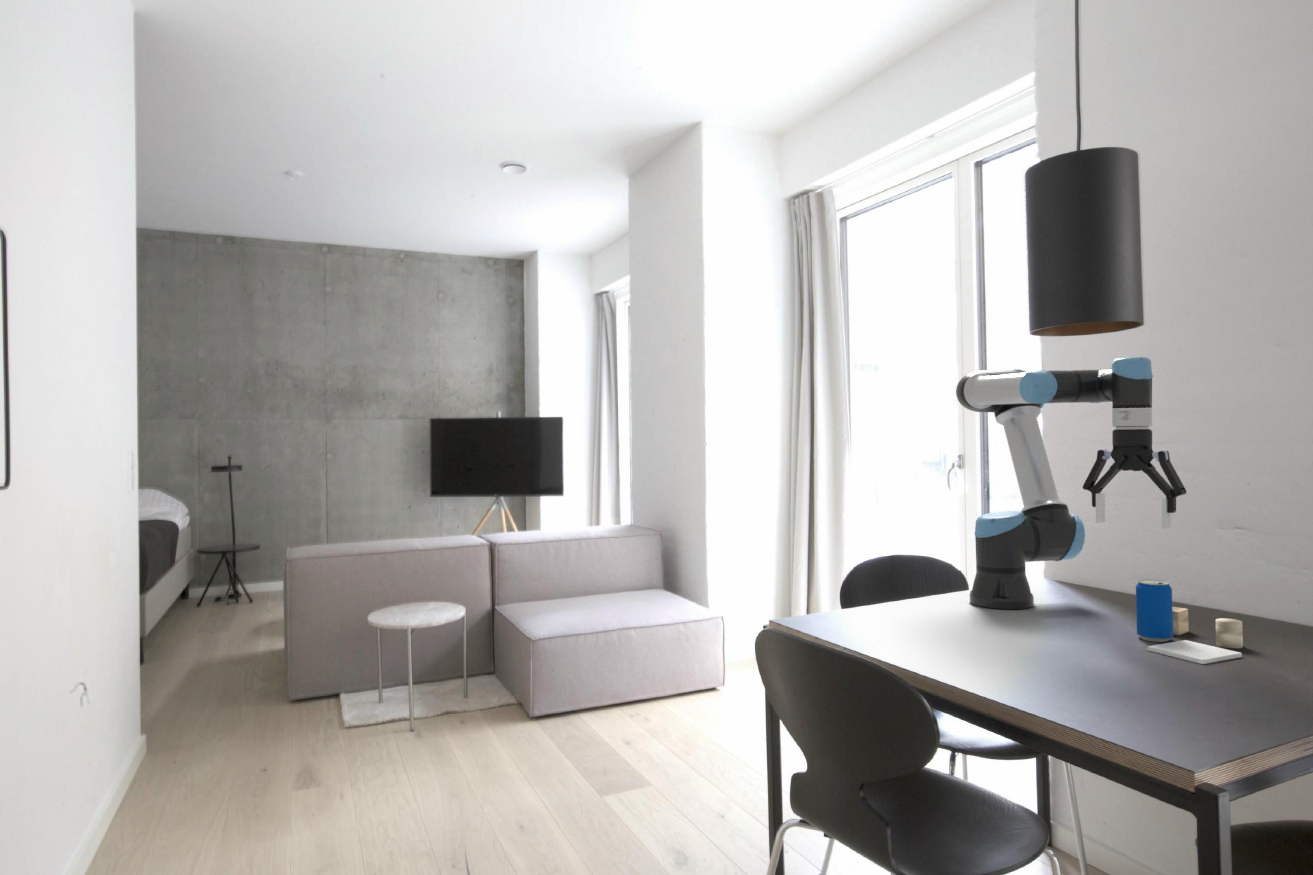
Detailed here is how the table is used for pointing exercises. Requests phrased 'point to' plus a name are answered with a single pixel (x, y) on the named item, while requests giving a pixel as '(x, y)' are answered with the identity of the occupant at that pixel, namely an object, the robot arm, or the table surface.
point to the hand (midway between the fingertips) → (1132, 525)
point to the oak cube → (1180, 620)
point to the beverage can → (1154, 610)
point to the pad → (1194, 651)
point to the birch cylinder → (1229, 633)
